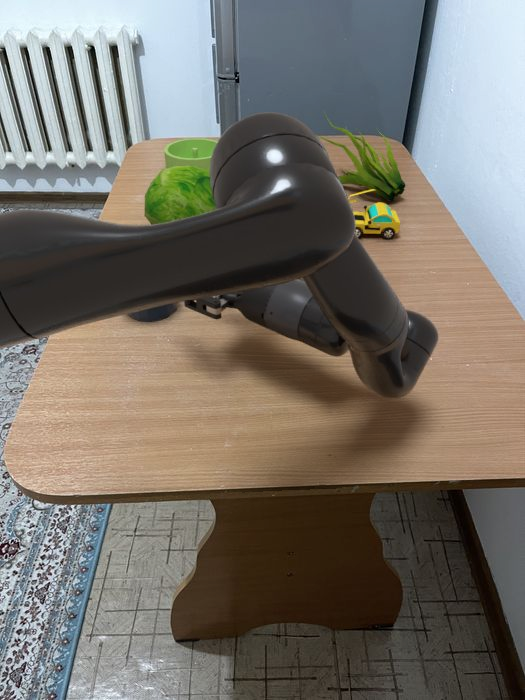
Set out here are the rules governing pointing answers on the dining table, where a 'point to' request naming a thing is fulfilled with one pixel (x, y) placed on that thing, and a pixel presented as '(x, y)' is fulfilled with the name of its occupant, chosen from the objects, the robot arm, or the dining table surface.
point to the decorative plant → (372, 168)
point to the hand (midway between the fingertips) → (193, 266)
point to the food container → (190, 153)
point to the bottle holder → (154, 313)
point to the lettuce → (178, 194)
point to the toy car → (376, 219)
